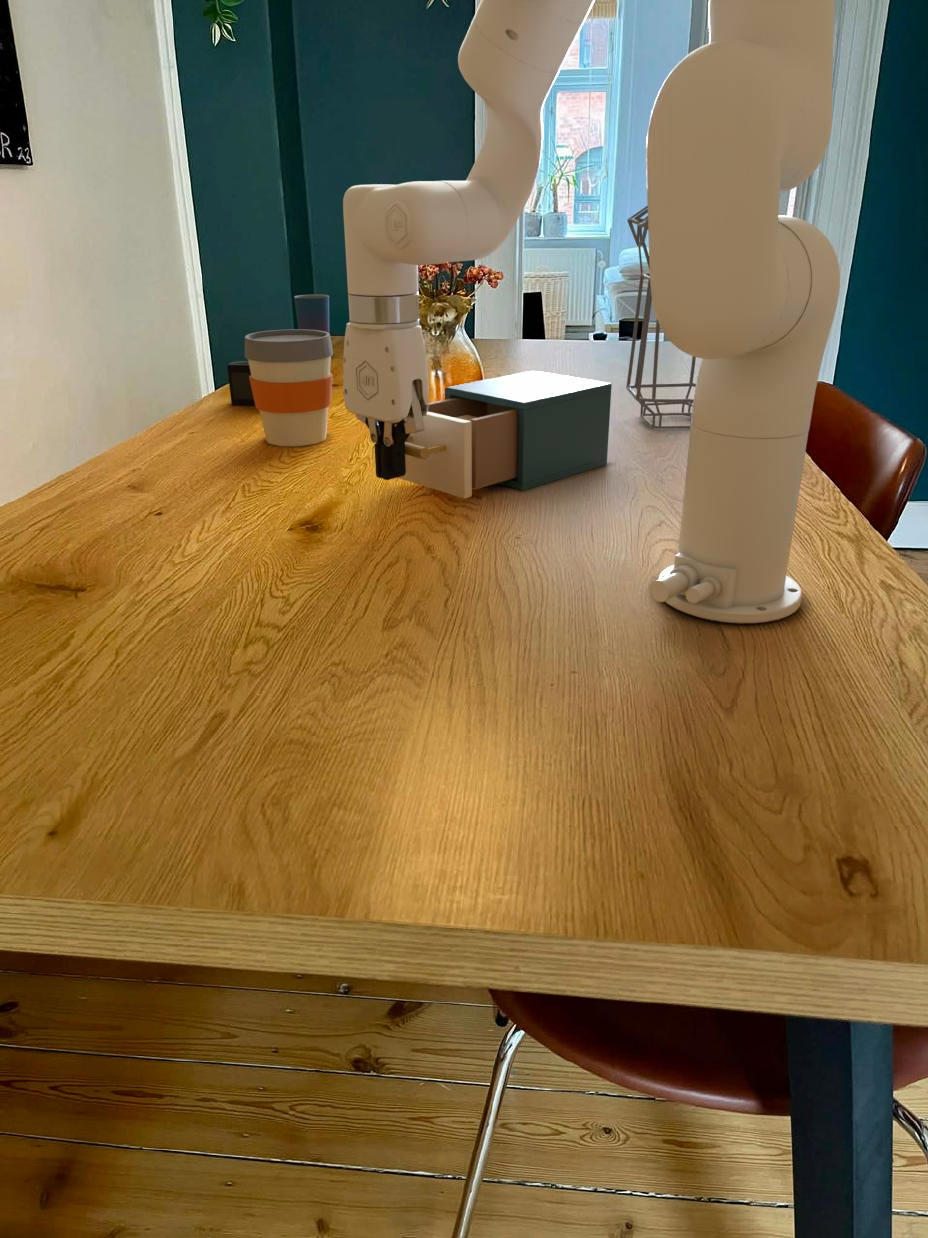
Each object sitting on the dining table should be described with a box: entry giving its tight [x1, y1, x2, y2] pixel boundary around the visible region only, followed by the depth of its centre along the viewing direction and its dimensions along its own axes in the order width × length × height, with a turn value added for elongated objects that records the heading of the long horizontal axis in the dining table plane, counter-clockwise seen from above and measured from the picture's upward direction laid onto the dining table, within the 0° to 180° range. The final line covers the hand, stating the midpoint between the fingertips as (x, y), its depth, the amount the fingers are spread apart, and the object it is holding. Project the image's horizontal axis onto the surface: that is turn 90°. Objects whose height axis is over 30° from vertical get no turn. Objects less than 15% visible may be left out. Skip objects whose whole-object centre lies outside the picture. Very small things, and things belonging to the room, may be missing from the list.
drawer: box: [395, 397, 519, 499], centre depth 113 cm, size 20×13×9 cm, turn 134°
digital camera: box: [226, 360, 256, 407], centre depth 158 cm, size 10×5×7 cm, turn 80°
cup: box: [293, 294, 330, 334], centre depth 183 cm, size 7×7×15 cm
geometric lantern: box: [625, 205, 697, 430], centre depth 138 cm, size 16×16×35 cm
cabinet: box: [444, 369, 613, 491], centre depth 120 cm, size 17×14×11 cm
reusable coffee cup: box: [244, 328, 334, 447], centre depth 134 cm, size 13×13×15 cm
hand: (391, 476), depth 106 cm, fingers closed
